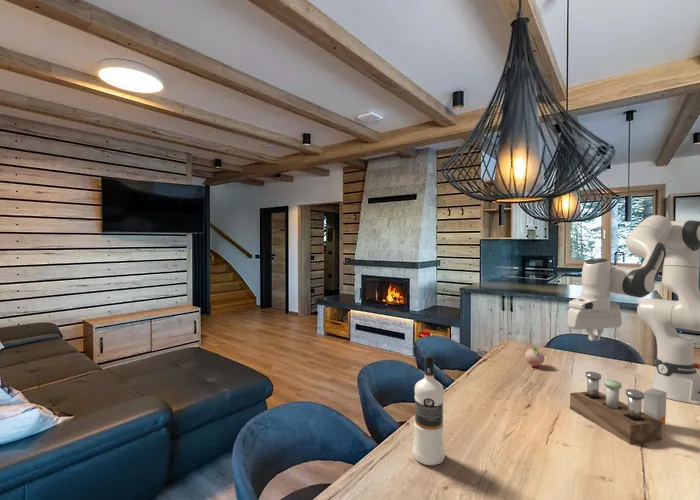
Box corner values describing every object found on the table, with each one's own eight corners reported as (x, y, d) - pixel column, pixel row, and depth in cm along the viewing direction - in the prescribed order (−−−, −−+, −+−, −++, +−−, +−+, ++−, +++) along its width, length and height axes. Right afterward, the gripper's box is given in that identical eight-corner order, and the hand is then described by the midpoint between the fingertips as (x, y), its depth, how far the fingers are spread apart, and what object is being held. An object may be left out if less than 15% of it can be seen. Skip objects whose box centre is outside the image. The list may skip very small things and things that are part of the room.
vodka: (446, 452, 109) (447, 353, 108) (442, 470, 100) (443, 363, 99) (415, 445, 112) (416, 349, 111) (409, 462, 104) (410, 359, 103)
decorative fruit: (522, 363, 186) (522, 344, 186) (539, 364, 185) (539, 344, 185) (528, 369, 177) (528, 349, 177) (546, 370, 176) (546, 350, 176)
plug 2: (633, 415, 121) (634, 388, 121) (647, 422, 116) (648, 394, 116) (621, 416, 120) (621, 389, 120) (634, 424, 115) (635, 395, 115)
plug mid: (611, 404, 129) (612, 379, 128) (624, 411, 124) (625, 384, 124) (600, 405, 128) (600, 380, 128) (612, 412, 123) (613, 385, 123)
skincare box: (657, 430, 121) (658, 395, 121) (642, 424, 125) (643, 390, 125) (665, 426, 124) (667, 392, 124) (651, 420, 128) (652, 387, 127)
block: (597, 405, 139) (597, 390, 139) (661, 440, 115) (661, 421, 115) (569, 408, 137) (570, 393, 137) (629, 444, 113) (630, 425, 113)
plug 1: (592, 395, 137) (593, 371, 136) (603, 400, 132) (604, 375, 132) (581, 396, 136) (582, 372, 135) (592, 401, 131) (593, 376, 131)
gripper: (611, 300, 138) (610, 336, 138) (564, 302, 134) (563, 338, 134) (627, 303, 131) (625, 340, 132) (578, 305, 128) (577, 343, 128)
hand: (594, 339), depth 133 cm, fingers closed
